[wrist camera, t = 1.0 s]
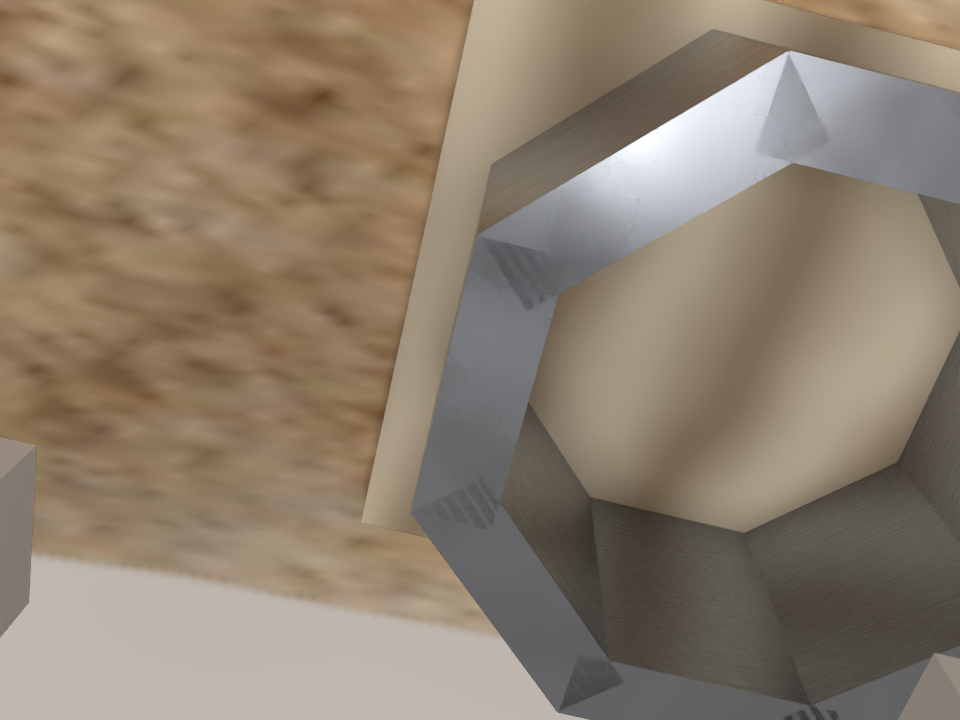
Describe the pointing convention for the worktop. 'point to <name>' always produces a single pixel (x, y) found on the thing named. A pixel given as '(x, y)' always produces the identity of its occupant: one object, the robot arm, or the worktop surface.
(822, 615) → the steel collar
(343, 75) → the worktop surface
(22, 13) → the worktop surface
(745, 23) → the maple board
